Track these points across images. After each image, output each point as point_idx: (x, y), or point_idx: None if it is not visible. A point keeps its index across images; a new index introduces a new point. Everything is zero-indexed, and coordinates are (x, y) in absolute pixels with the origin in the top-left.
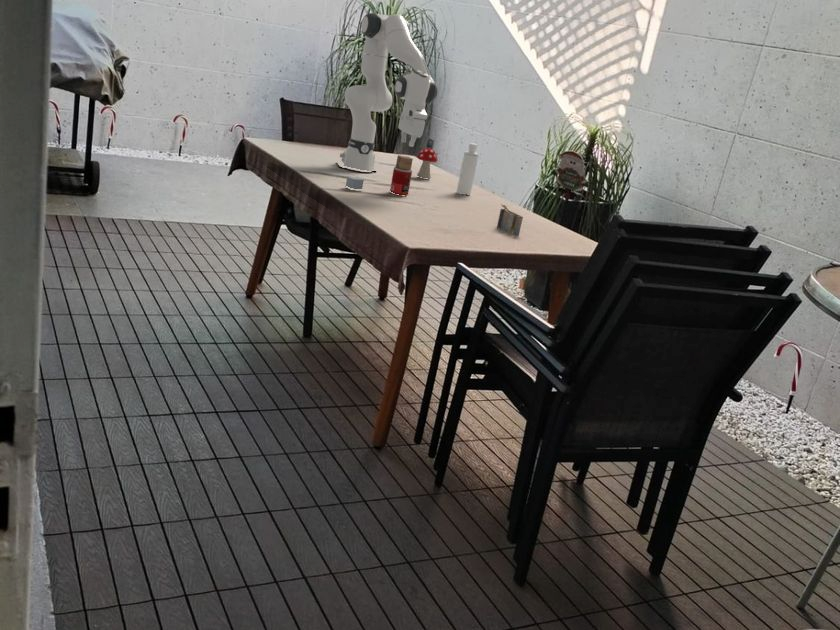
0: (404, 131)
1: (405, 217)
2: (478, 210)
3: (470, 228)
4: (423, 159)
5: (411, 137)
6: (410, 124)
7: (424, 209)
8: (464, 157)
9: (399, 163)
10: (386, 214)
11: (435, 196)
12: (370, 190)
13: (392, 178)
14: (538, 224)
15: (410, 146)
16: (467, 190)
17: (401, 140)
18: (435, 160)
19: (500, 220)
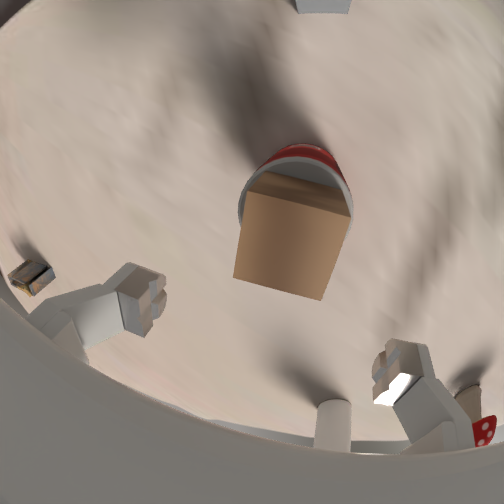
0: (322, 455)
1: (38, 70)
2: (162, 334)
3: (20, 193)
4: (477, 422)
5: (47, 313)
6: (3, 498)
7: (100, 157)
8: None
9: (283, 183)
10: (50, 31)
11: (294, 321)
12: (334, 64)
13: (316, 152)
14: (114, 366)
15: (131, 266)
16: (317, 415)
17: (419, 347)
18: None
19: (44, 277)
